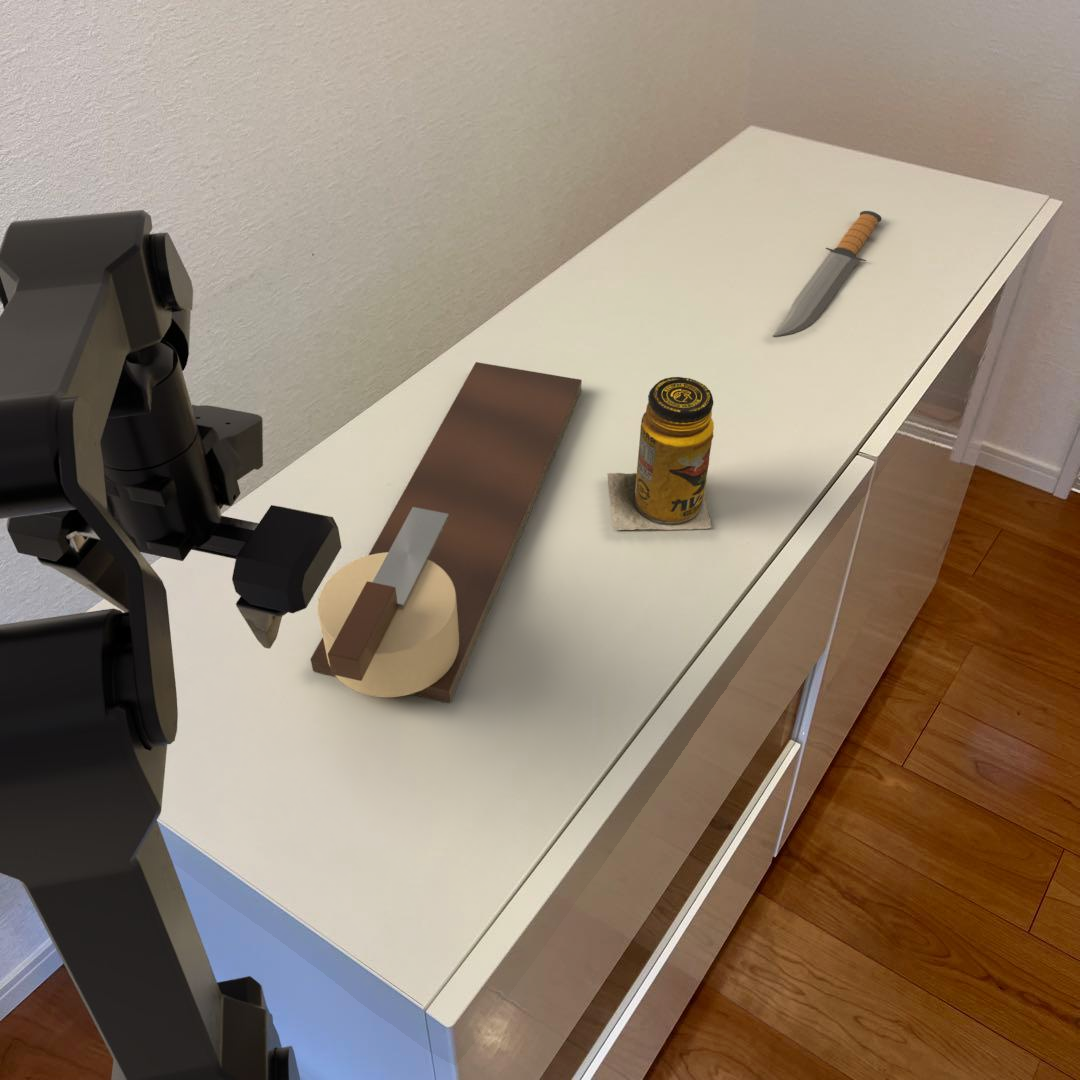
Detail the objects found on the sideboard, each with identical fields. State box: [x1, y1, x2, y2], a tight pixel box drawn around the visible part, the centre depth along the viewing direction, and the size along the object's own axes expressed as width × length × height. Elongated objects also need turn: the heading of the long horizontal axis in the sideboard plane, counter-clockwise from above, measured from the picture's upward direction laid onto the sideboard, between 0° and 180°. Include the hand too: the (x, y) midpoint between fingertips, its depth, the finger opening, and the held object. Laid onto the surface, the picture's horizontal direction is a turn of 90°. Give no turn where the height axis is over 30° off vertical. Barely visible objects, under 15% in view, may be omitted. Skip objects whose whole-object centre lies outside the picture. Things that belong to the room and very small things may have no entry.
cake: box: [317, 552, 459, 698], centre depth 80 cm, size 10×10×5 cm
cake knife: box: [328, 507, 449, 681], centre depth 78 cm, size 17×3×2 cm, turn 165°
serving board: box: [310, 361, 583, 704], centre depth 94 cm, size 40×11×2 cm, turn 164°
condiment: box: [606, 376, 715, 531], centre depth 91 cm, size 7×8×12 cm
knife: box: [772, 210, 882, 337], centre depth 123 cm, size 30×1×5 cm
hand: (204, 627), depth 69 cm, fingers open, 9 cm apart
